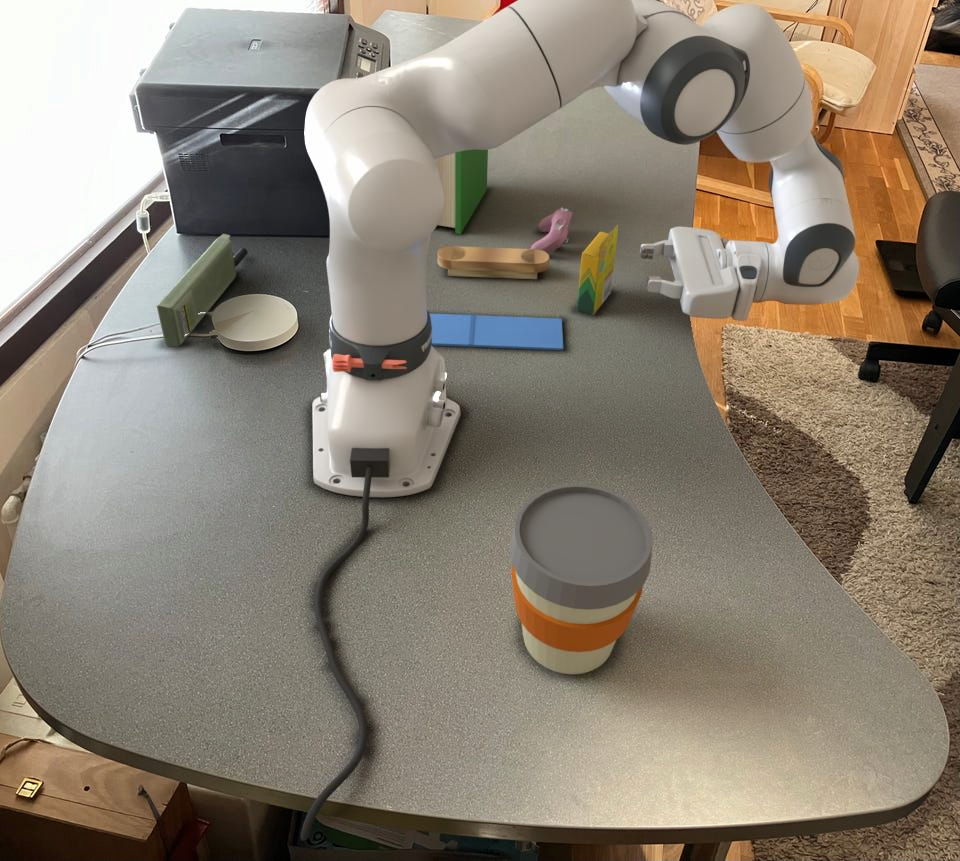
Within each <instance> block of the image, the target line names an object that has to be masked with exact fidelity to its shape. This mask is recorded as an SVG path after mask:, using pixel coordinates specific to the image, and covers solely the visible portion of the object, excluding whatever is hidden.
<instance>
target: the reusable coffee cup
mask: <svg viewBox="0 0 960 861" xmlns="http://www.w3.org/2000/svg"><path fill="white" fill-rule="evenodd" d="M514 521H515V522H514V525H513V530H512V534H511V540H510V547H509V555H510V559H511V582H512V591H513V592H512V593H513V599H514V605H515V611H516V614H517V616H518V619H519V621H520V623H521V630H522V631H521V632H522V637H523V642H524V645H525V647H526V650H527V652H528V653H529V654H530V656H531V657H532V658H533V659H534V660H535V661H536V662H537V663H538V664H539V665H541V666H542V667H544V668H546V669H548V670H550V671H553V672H554V673H559V674H563V675H581V674H586V673H589V672H592V671H594V670H595V669H598V668H599V667H600V666H602V665H603V664H605V662H606V661H607V660H608V658H609V657H610V656H611V654H612V651H613V649H614V647H615V644H616V642H617V640H618V639H619V638H620V637H621V636H622V635H623V634H624V633H625V631H626V630H627V628H628V626H629V624H630V622H631V620H632V616H633V614H634V613H635V610H636V607H637V605H638V603H639V601H640V599H641V597H642V594H643V588H644V585H645V584H646V582H647V579H648V577H649V575H650V572H651V565H652V558H653V557H652V555H653V533H652V529H651V526H650V524H649V521H648V520H647V518H646V516H645V515H644V513H643V512H642V510H640V509H639V508H638V507H637V505H636V504H634V503H633V502H632V501H630V499H628V498H627V497H626V496H623V495H621V494H619V493H618V492H616V491H614V490H611V489H608V488H605V487H603V486H598V485H593V484H587V483H565V484H564V483H563V484H559V485H555V486H551V487H548V488H545V489H543V490H540V491H539V492H537V493H536V494H533V495H532V496H531V497H530V498H529V499H528V500H526V502H525V503H524V504H523V505H522V506H521V508H520V510H519V511H518V513H517V516H516V519H515V520H514Z"/></svg>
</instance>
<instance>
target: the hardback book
mask: <svg viewBox="0 0 960 861" xmlns="http://www.w3.org/2000/svg"><path fill="white" fill-rule="evenodd" d="M435 162H436V164H437V167H438V170H439V174H440V178H441V182H442V186H443V192H444V209H443V213H442V216H441V219H440V221H439V223H438V225H437V226H441V227H442V226H443V227H448V228H453V229H454V233H455V234H457V235H461V234H462V232H463V231H464V228H466V225H467V224H468V222H469V221H470V219H471V217H472V216H473V214H474V212H475V210H476V209H477V207H478V206H479V204H480V202H481V200H482V198H483V197H484V195H485V193H487V190H488V164H489V149H488V150H465V151H460V152H456V153H453V154H449V155H446V156H443V157H440V158H437V159H435Z"/></svg>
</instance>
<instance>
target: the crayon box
mask: <svg viewBox="0 0 960 861" xmlns="http://www.w3.org/2000/svg"><path fill="white" fill-rule="evenodd" d="M618 235H619V224H617V225H616V226H615V227H614V228H613V229H612V230H611V231H610V232H609V233H608V232H605V231H600V232H598V234H597V235H596V236H595V237H594V239H593V240H592V241H590V244H588V245H587V247H586V248H585V249H584V250H583V251H582V253H581V260H580V268H579V269H580V270H579V280H578V288H577V289H578V292H577V299H576V300H577V301H576V311H578V312H580V313H583V314H587V315H592V316H595V314H596V313H597V311H598V310H599V309H600V307H601V306H602V305H603V304H604V302H605V301H606V300H607V298H608V297H609V296H610V295H611V293H612V286H613V285H612V284H613V277H614V268H615V261H616V252H617V245H618V244H617V243H618Z"/></svg>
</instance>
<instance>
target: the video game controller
mask: <svg viewBox="0 0 960 861" xmlns="http://www.w3.org/2000/svg"><path fill="white" fill-rule="evenodd" d="M573 216H574V212H573V211H572V210H570V209H568V208H563V206H561V208H557V209H556V210H555V211H554V212H552V213H551V214H550V215H548V216H545V217H544V218H542V219H541V220H540V221H539V222H538V225H537V228H538V230H539V231H540V232H541V233H547V234H546V235H545V236H543V237H542V238H541V239H539V240H537V241H535V242H534V243H533V244H532V245H531V247H530V249H538V250H542V251H544V252H546V253H547V254H548V255H549V254H550V253H552V252H554V251H556V250H557V249H559V248H560V247H561V246H562V245H566V244H567V243H568V242H569V237H567V236H568V233H569V229H568V228H569V225H570V223H571V221H572V218H573Z"/></svg>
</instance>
